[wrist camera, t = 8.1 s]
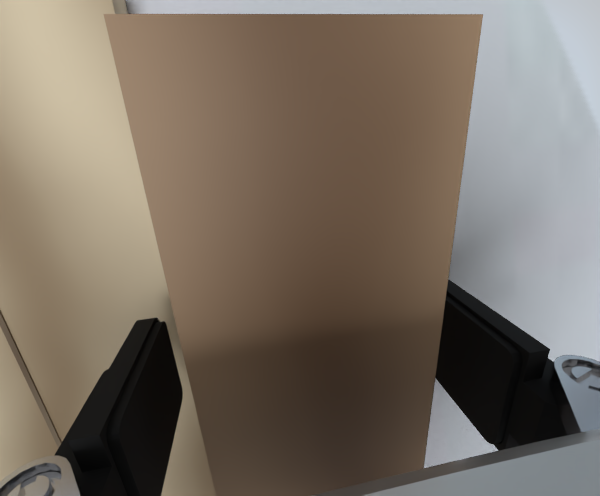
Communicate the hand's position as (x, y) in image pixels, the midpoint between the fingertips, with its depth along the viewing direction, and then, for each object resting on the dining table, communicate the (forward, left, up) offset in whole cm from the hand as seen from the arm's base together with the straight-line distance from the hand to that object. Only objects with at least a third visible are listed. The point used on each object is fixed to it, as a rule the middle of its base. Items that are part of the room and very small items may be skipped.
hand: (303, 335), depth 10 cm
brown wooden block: (0, 0, -3) cm, 3 cm away
